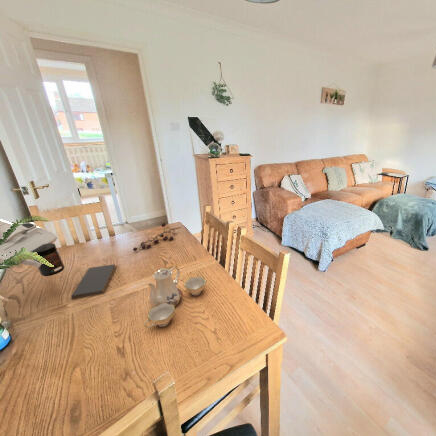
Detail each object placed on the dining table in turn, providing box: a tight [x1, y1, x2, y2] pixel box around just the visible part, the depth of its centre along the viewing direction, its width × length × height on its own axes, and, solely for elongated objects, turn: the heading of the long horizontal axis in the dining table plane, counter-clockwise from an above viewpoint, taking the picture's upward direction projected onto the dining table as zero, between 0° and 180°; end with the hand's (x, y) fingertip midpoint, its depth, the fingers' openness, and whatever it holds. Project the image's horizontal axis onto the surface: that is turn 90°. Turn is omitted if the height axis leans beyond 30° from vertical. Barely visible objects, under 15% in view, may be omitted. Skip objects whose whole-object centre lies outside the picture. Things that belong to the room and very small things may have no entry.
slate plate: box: [71, 263, 116, 300], centre depth 104 cm, size 10×20×2 cm, turn 22°
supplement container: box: [31, 243, 65, 277], centre depth 88 cm, size 7×7×10 cm
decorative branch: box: [132, 222, 182, 252], centre depth 138 cm, size 11×9×30 cm
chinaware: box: [144, 266, 207, 329], centre depth 91 cm, size 28×17×17 cm, turn 167°
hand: (50, 259), depth 89 cm, fingers closed on supplement container, 6 cm apart
